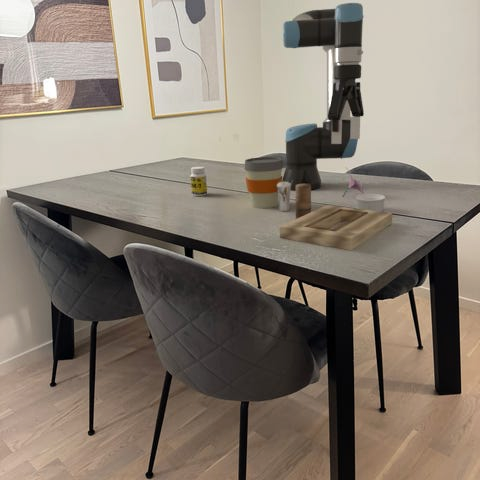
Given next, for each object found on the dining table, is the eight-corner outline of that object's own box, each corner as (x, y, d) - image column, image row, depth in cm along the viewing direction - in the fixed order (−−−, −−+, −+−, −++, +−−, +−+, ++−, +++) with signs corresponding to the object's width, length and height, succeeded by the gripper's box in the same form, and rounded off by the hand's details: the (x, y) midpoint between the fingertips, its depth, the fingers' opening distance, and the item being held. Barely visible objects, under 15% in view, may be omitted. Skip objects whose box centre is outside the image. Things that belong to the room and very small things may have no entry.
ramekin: (370, 215, 141) (371, 201, 140) (348, 210, 149) (349, 196, 147) (391, 210, 146) (391, 196, 144) (369, 205, 153) (369, 192, 152)
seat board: (279, 237, 125) (279, 225, 124) (326, 214, 144) (326, 204, 143) (351, 250, 113) (351, 237, 112) (391, 223, 132) (392, 212, 131)
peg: (292, 219, 141) (292, 186, 138) (300, 215, 144) (300, 183, 141) (306, 221, 138) (306, 187, 135) (313, 217, 142) (313, 184, 139)
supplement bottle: (189, 196, 178) (186, 168, 175) (196, 192, 183) (194, 166, 180) (203, 196, 176) (201, 169, 173) (209, 193, 181) (208, 166, 178)
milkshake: (289, 212, 148) (289, 180, 145) (274, 211, 151) (273, 179, 148) (296, 209, 152) (295, 178, 149) (281, 207, 155) (280, 177, 152)
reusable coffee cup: (255, 199, 168) (253, 156, 163) (289, 201, 162) (288, 157, 158) (239, 208, 157) (237, 162, 153) (275, 210, 152) (274, 163, 147)
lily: (358, 205, 158) (372, 179, 156) (327, 189, 162) (341, 163, 160) (364, 208, 169) (378, 183, 167) (335, 192, 173) (348, 169, 171)
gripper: (342, 62, 123) (340, 146, 129) (376, 64, 142) (373, 137, 148) (315, 64, 127) (315, 145, 133) (352, 66, 146) (350, 136, 153)
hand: (346, 141), depth 141 cm, fingers open, 13 cm apart
